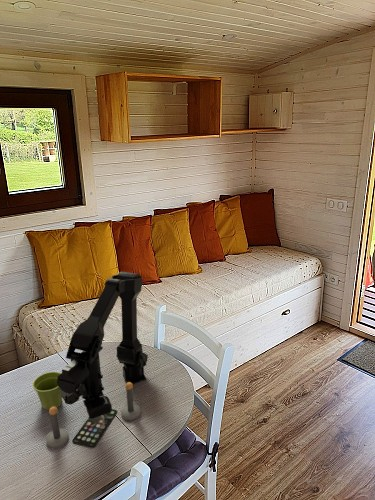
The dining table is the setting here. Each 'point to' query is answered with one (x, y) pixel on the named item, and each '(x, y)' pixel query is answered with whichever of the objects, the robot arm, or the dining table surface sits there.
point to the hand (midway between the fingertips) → (94, 414)
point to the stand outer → (56, 432)
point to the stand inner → (130, 405)
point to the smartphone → (93, 430)
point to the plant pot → (48, 390)
